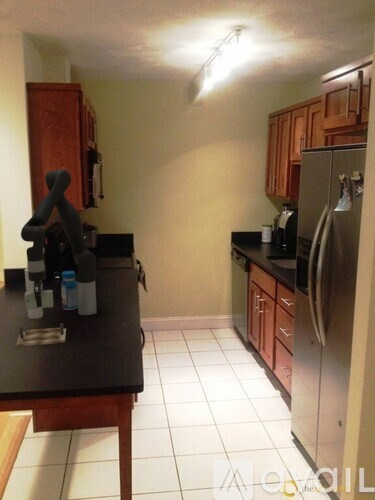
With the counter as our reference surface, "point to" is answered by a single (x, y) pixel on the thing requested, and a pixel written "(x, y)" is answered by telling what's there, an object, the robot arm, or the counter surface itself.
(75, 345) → the counter surface
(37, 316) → the cylindrical container
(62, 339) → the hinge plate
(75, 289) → the blue pill bottle
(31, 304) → the rectangular block
